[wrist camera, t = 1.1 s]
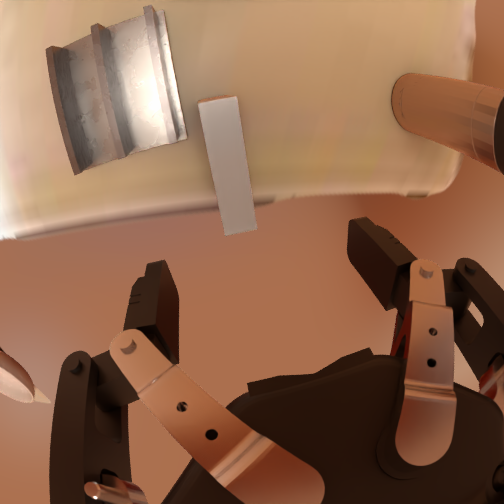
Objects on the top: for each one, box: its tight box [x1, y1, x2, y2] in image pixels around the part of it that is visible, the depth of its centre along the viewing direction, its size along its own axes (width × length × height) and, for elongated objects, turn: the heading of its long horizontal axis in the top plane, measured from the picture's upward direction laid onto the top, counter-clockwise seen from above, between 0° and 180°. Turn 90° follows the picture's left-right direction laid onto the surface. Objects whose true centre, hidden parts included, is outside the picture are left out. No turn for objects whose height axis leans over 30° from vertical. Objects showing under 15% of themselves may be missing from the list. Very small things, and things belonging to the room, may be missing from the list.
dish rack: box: [46, 5, 188, 175], centre depth 21 cm, size 13×16×5 cm
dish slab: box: [198, 95, 257, 236], centre depth 26 cm, size 3×12×10 cm, turn 8°
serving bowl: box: [0, 351, 35, 403], centre depth 41 cm, size 21×21×7 cm
